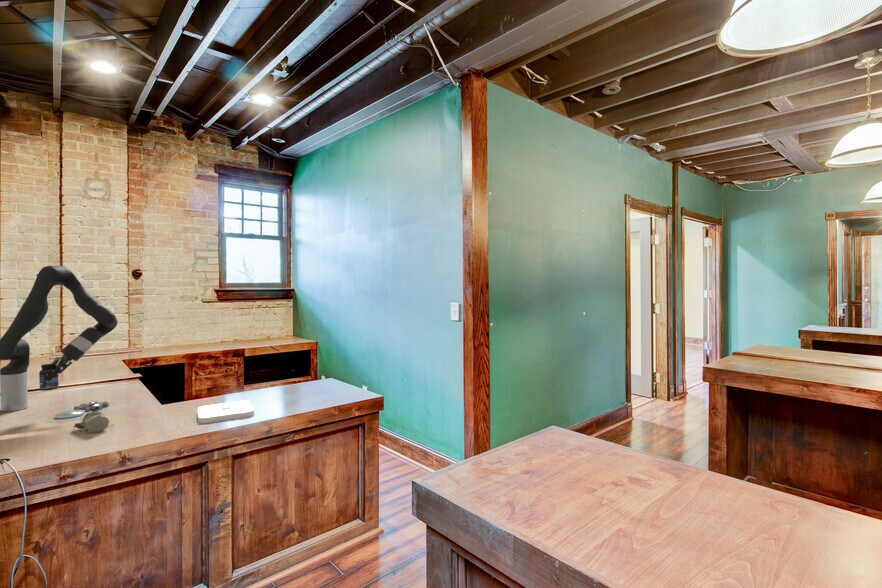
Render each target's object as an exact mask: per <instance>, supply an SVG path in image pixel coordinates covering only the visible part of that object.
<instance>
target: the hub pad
mask: <svg viewBox="0 0 882 588" xmlns="http://www.w3.org/2000/svg"><path fill="white" fill-rule="evenodd" d="M60 412H61V411H60ZM60 412H57V413H56V414H54V416H55V418H56V419H68V418H74V417H79V416H82V415H84V414H85V410H70V411H65V412H61V413H60Z"/></svg>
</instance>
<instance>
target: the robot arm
mask: <svg viewBox="0 0 882 588" xmlns="http://www.w3.org/2000/svg"><path fill="white" fill-rule="evenodd" d="M55 286H63V287H65V288H66V289H67V290H69V292H70V293H72V296H73V300H74V302H75V304H76V305H77V306H78V307H79V308H80V309H81V310H82V311H83V312H85V314H87V315H88V316H91V317H92V318H93V319H94V320H95V321H96V322H97V323H96V324H95V325H93V326H91V327H87V328H86V329H84V331H82V332H81V333H80V334H79V335H77V337H75V338H74V339H73V340H71V341H70V342H69V343H68V344H67V345H66V346H64V347H63V348H62V349H61V350H60V352H61V354H62V355H61V356H58V357H55V359H54V360H53V361H51V363H56V365H55V366H54V367H55V368H54V369H53V370H52V371H53V372H52V371H51V372H50V373H49V374H48V375H47V376H46V377H45V378H44V379H45V380H47V381H50V380H51V379H52V378H53V377H54V376H55V375H57V374H58V375H59V374H62V373H63V372H64V371H65V370H67V368H68V367H70V366H71V365H72V364H73V362H72V361H74V362H77V361H79V360H80V359H81V358H82V357H84V355H86V354H87V353H88V352H89V351H90V350H91V349H92V348H93V346H94V345H95V344H96V343H97V342H99V340H100V339H102V338H103V337H104V336H106V335H108V334H109V333H111V332H112V331H114V330H115V328H117V326H118V319H117V317H116V315H115V314H114V313H113V311H112V310H110V309H108V308H107V307H105V306H104V305H103V304H102V303H101V302H100V301H99V300H97V298H96V297H94V295H92V294H91V293H90V292H89V291H88V290H87V289H86V287H85V286H84V285H83V284H82V282H81V281H80V280H79V279H78V277H77V276H76V275H75V273H73V271H72V269H70V268H69V267H67V266H65V265H47V266H44V267H42V268H41V269H40V271H39V272H38V274H37V276H36V278H35V281H34V283H33V285H32V287H31V289H30V292H29V293H28V295H27V297H26V299H25V300H24V302H23V303H22V305H21V307H20V309H19V311H18V312H17V314H16V316H15V317H14V319H13V320H12V322H11V324H10V325H9V327H8V329H7V330H6V331H5V333H4V334H3V335H2V336H1V338H0V361H9V362H8V363H7V364H6V365H4V366H3V367H1V368H0V411H1V412H15V411H20V410H24V409H26V408H28V407H29V403H28V402H29V401H28V400H29V399H28V398H29V397H28V396H29V395H28V394H29V393H28V391H29V390H28V388H29V387H28V368H29V366H30V354H31V352H30V351H31V350H30V344H29V343H28V341H27V340H26V339H23V337H24V336H26V335H27V334H28V333H29V332H31V331H33V329H35V328H36V327H37V326H39V325H40V324H41V323H42V321H43V320H44V319H45V316H46V315H47V313H48V311H49V302H48V296H49V293H50V292H51V290H52V289H53V287H55Z"/></svg>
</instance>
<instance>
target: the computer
mask: <svg viewBox="0 0 882 588" xmlns="http://www.w3.org/2000/svg"><path fill="white" fill-rule="evenodd" d="M251 403H252V402H250V401H249V400H239V401H230V402H224V403H215V404H208V405H202V406H198V408H197V420H198V421H197V422H198V423H199V424H208V423H217V422H223V421H231V420H237V419H243V418H250V417H253V416H254V414H255V411H254V407H253V405H252V404H251Z"/></svg>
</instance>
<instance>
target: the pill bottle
mask: <svg viewBox="0 0 882 588" xmlns="http://www.w3.org/2000/svg"><path fill="white" fill-rule="evenodd" d="M55 365H56V363H52V362H51V363H42V364H41V369H40V371H39V373H38V375H39V379H38V380H39V390H40V391H42V392H47V391H48V392H49V391H53V390H57V389H59V387H60V386H59V374H57V375H55V376H54V377H53V378H52V379H51V380H50V381H47V380H45V379H44V378H45V377H46V376H47V375H48V374H49V373H50V372H51V371H52V370H53V369H54V368H55V367H54V366H55ZM52 372H53V371H52Z"/></svg>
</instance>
